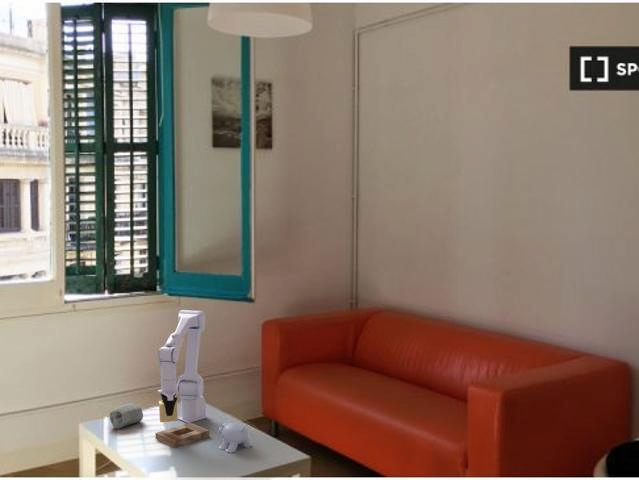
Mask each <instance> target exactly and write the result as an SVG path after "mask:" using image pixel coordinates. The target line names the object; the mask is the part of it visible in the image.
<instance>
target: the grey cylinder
mask: <svg viewBox="0 0 639 480" xmlns="http://www.w3.org/2000/svg"><path fill="white" fill-rule="evenodd" d="M143 418H144V412H143V410H142V407H141V405H140V404H139V403H136V402H134V403H133V402H132V403H131V402H130V403H127V404H123V405H121V406H118V407H116V408H113V409H112V410H111V411H110V412H109V420H110V424H111V425H112V427H113V428H115V429H116V430H117V429H118V430H119V429H122V428H124V427H126V426H131V425H134V424H137V423H140V422H141V421H142V420H143Z"/></svg>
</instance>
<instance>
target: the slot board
mask: <svg viewBox="0 0 639 480" xmlns="http://www.w3.org/2000/svg"><path fill="white" fill-rule="evenodd" d="M210 431H211V430H210V429H207V428H205V427H202V426H199V425H198V424H195V423H193V422H190V423H187V422H186V423H184V424H180V425H178V426H175V427H172V428H167V429H164V430H161V431H157V432H154V433H155V437H154V438H155V440H156V439H157V440H156V441H158V440H159V441H158V442H161V443H162V444H165V445H168V446H169V447H172V448H174V449H175V448H178V447H181V446H184V445H187V444H190V443H194V442H197V441H200V440H203V439H207V438H210Z"/></svg>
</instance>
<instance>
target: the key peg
mask: <svg viewBox="0 0 639 480" xmlns="http://www.w3.org/2000/svg"><path fill="white" fill-rule="evenodd" d="M158 406H159V407H158V408H159V409H158V410H159V411H158V412H159V422H160V423H168V422H177V421H179V419H178V417H179V415H178V400H177V401H176V403H175V406H174V411H173V416H167V415H166V410H165V405H164V403H163V401H162V400H158Z"/></svg>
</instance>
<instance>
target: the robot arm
mask: <svg viewBox="0 0 639 480" xmlns="http://www.w3.org/2000/svg"><path fill="white" fill-rule="evenodd" d="M206 319H207V317H206V314H205V311H204V310H190V309H189V310H188V309H181V310H179V312H178V315H177V321H178V322H177V323H178V324H177V326H176V329H175V332H173V333H170V335H169V336H168V339H167V341H166V342H165V344H164V346H162V347H160V348H159V349H158V350H157V357H156V358H157V361H158V366H159V367H160V389H158V390H157V393H158V394H160V396H161V401H163V403H164V405H165V410H166V415H167V416H173V411H174V406H175V403H176V401H177V402H178V397H175V396H176V395H177V396H179V399H180V400H181V401H180V404H181V405H180V406H181V408H180V409H181V410H180V413H181V416H180V415H179V416H178V421H179V420H180V421H181V422H184V423H186V424H187V423H193V422H197V421H200V420H203V419H206V418H208V416H207V414H206V413H207V412H206V411H207V410H206V408H207V407H206V406H207V404H206V399H205V397H204V395H203V394H204V388H205V386H204V378H203V377H202V376H201V375H200V374H199V373H198V370H199V369H198V365H199V357H200V356H199V355H200V346H201V345H200V344H201V337H202V336H201V335H202V333H203V332H204V331H205V328H206ZM186 333H187V345H186V356H185V368H184V373H183V374H181V375H180V376H179V377H178V379H177V362H178V360H179V357H180V350H181V348H182V345H183V344H184V342H185V340H184V337H185V335H186Z"/></svg>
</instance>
